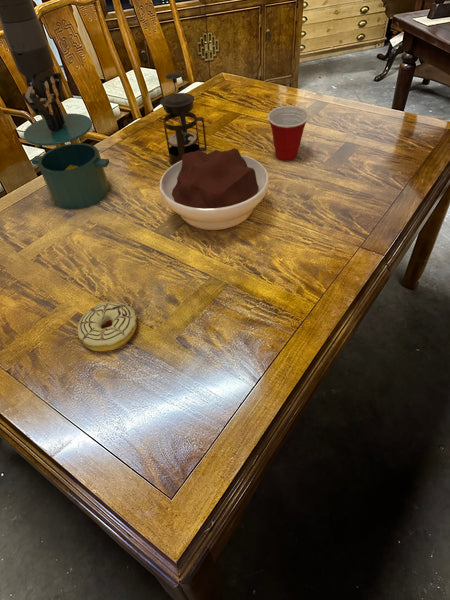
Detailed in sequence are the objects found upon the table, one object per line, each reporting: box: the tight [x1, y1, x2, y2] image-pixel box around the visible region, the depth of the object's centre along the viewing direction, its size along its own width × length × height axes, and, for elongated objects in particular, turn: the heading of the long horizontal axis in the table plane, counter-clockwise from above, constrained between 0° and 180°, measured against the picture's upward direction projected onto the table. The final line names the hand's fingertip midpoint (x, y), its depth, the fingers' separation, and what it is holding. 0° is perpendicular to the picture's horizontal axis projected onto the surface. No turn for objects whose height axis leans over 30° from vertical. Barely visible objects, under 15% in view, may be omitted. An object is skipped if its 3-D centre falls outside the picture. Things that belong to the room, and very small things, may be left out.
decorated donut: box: [77, 301, 138, 352], centre depth 76 cm, size 10×11×4 cm
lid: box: [23, 105, 93, 147], centre depth 97 cm, size 16×16×6 cm
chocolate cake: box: [158, 147, 270, 231], centre depth 96 cm, size 25×25×15 cm
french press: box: [159, 71, 208, 166], centre depth 112 cm, size 12×9×23 cm
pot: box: [30, 142, 110, 210], centre depth 107 cm, size 15×20×10 cm
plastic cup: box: [267, 105, 310, 162], centre depth 114 cm, size 11×11×12 cm
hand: (57, 127), depth 98 cm, fingers closed on lid, 2 cm apart
